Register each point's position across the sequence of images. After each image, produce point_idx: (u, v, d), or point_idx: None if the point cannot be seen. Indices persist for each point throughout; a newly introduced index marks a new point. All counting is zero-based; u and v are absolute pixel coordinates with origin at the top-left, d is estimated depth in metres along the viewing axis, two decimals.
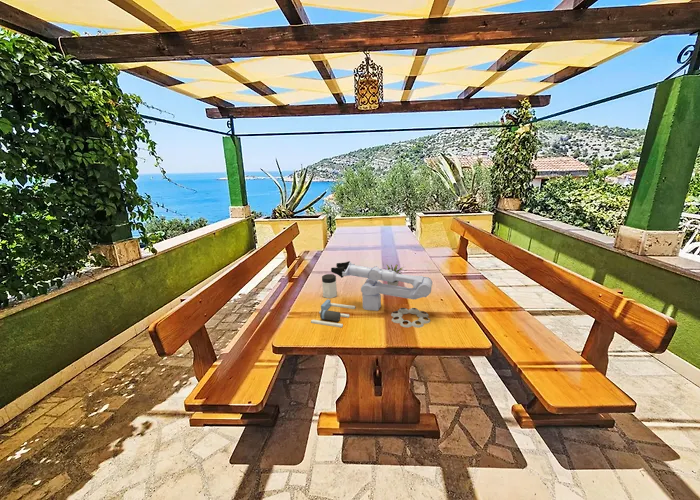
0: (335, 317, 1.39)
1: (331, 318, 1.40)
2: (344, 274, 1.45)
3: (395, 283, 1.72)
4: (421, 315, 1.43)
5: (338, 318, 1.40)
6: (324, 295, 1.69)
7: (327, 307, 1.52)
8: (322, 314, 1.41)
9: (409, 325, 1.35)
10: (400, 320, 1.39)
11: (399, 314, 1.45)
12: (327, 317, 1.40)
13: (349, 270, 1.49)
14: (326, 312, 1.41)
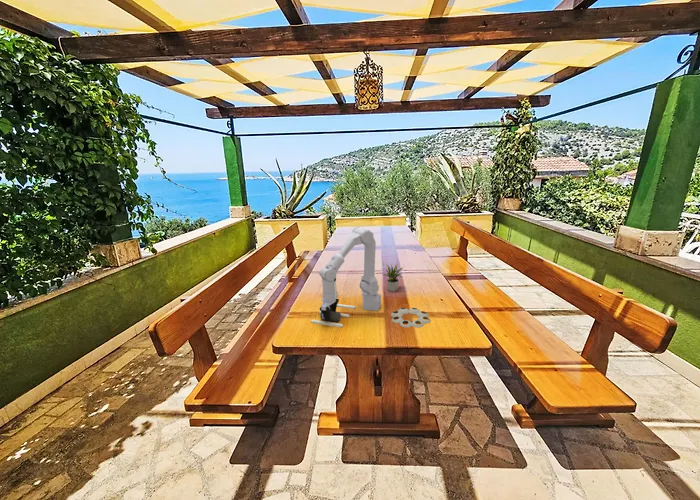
0: (335, 318, 1.39)
1: (331, 319, 1.40)
2: (323, 307, 1.33)
3: (395, 283, 1.72)
4: (421, 315, 1.43)
5: (338, 318, 1.40)
6: None
7: None
8: (322, 315, 1.41)
9: (409, 325, 1.35)
10: (400, 320, 1.39)
11: (399, 314, 1.45)
12: None
13: (325, 301, 1.37)
14: None
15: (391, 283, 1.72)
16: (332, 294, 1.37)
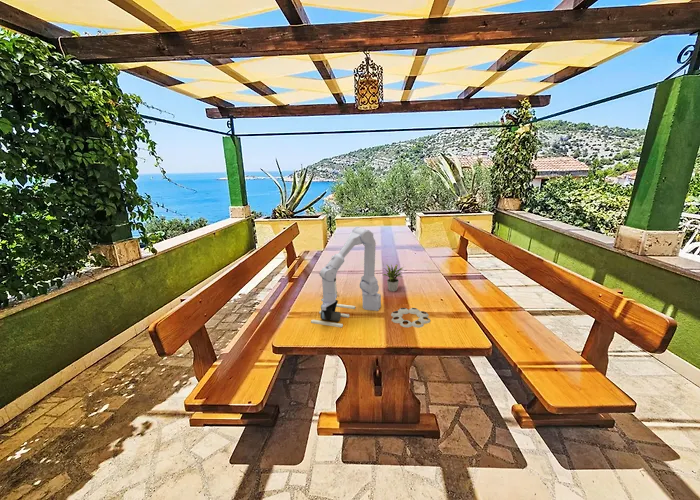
0: (335, 318, 1.39)
1: (331, 319, 1.40)
2: (323, 308, 1.33)
3: (395, 283, 1.72)
4: (421, 315, 1.43)
5: (338, 318, 1.40)
6: None
7: None
8: (322, 315, 1.41)
9: (409, 325, 1.35)
10: (400, 320, 1.39)
11: (399, 314, 1.45)
12: None
13: (325, 301, 1.37)
14: None
15: (391, 283, 1.72)
16: (332, 294, 1.37)
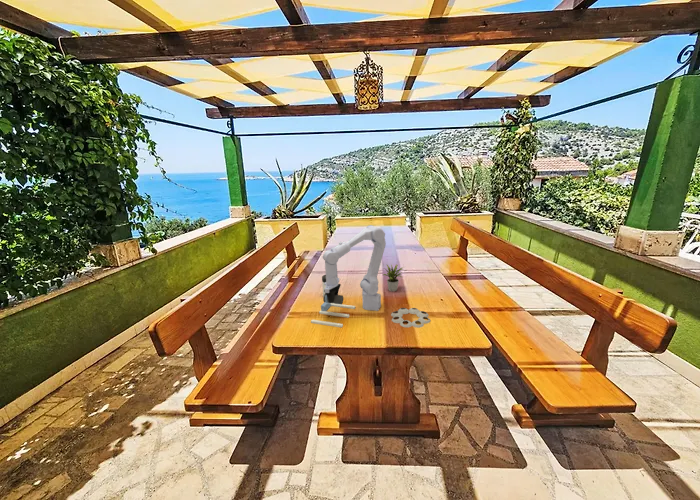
0: (338, 301, 1.41)
1: (334, 302, 1.42)
2: (326, 290, 1.35)
3: (395, 283, 1.72)
4: (421, 315, 1.43)
5: (341, 301, 1.42)
6: None
7: (327, 307, 1.52)
8: (325, 298, 1.43)
9: (409, 325, 1.35)
10: (400, 320, 1.39)
11: (399, 314, 1.45)
12: None
13: (328, 284, 1.39)
14: None
15: (391, 283, 1.72)
16: (335, 277, 1.39)
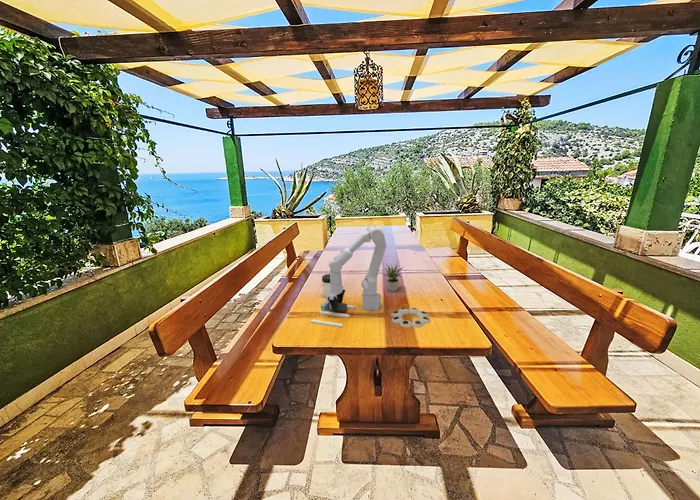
0: (342, 308, 1.47)
1: (338, 309, 1.48)
2: (331, 297, 1.42)
3: (395, 283, 1.72)
4: (421, 315, 1.43)
5: (345, 309, 1.49)
6: (324, 295, 1.69)
7: (327, 307, 1.52)
8: (330, 306, 1.49)
9: (409, 325, 1.35)
10: (400, 320, 1.39)
11: (399, 314, 1.45)
12: None
13: (333, 291, 1.46)
14: None
15: (391, 283, 1.72)
16: (339, 284, 1.45)
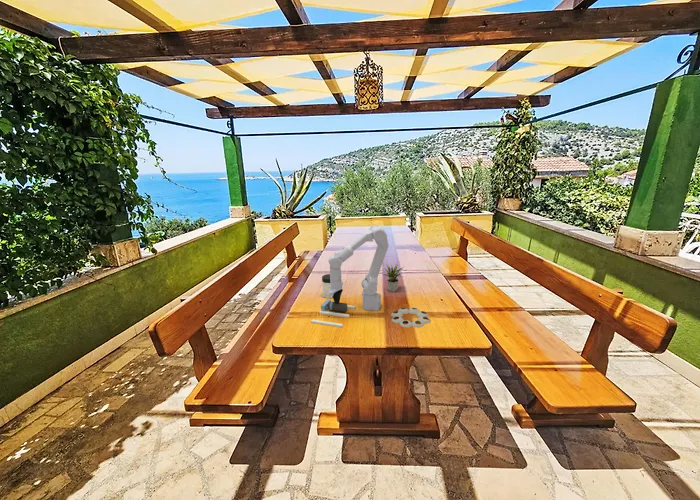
0: (342, 308, 1.48)
1: (338, 309, 1.48)
2: (330, 293, 1.41)
3: (395, 283, 1.72)
4: (421, 315, 1.43)
5: (345, 309, 1.49)
6: (324, 295, 1.69)
7: (327, 307, 1.52)
8: (330, 305, 1.50)
9: (409, 325, 1.35)
10: (400, 320, 1.39)
11: (399, 314, 1.45)
12: (335, 308, 1.49)
13: (332, 288, 1.45)
14: (334, 303, 1.50)
15: (391, 283, 1.72)
16: (339, 281, 1.44)
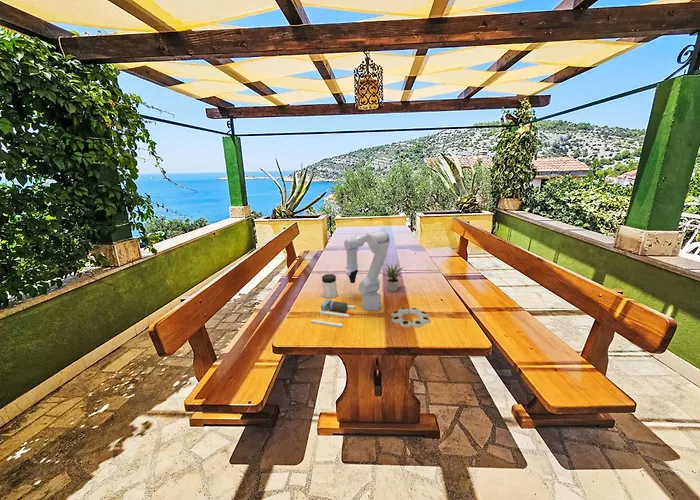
0: (343, 307, 1.48)
1: (339, 308, 1.49)
2: (348, 273, 1.56)
3: (395, 283, 1.72)
4: (421, 315, 1.43)
5: (345, 308, 1.49)
6: (324, 295, 1.69)
7: (327, 307, 1.52)
8: (330, 304, 1.50)
9: (409, 325, 1.35)
10: (400, 320, 1.39)
11: (399, 314, 1.45)
12: (335, 307, 1.49)
13: (349, 268, 1.59)
14: (334, 302, 1.50)
15: (391, 283, 1.72)
16: (355, 262, 1.59)
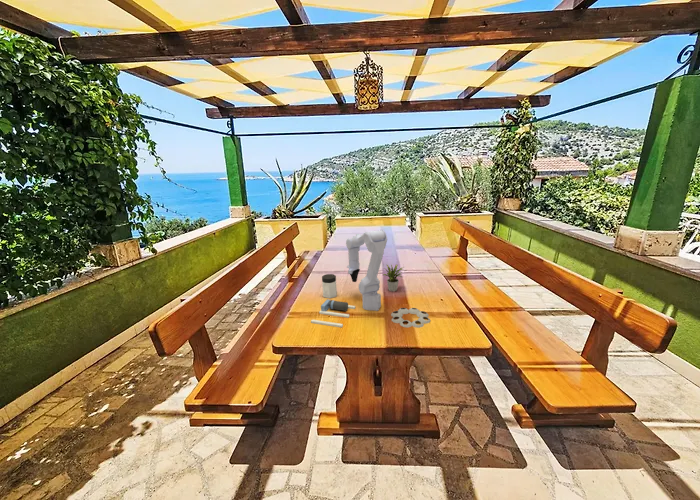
0: (343, 305, 1.49)
1: (339, 306, 1.49)
2: (350, 271, 1.57)
3: (395, 283, 1.72)
4: (421, 315, 1.43)
5: (346, 307, 1.50)
6: (324, 295, 1.69)
7: (327, 307, 1.52)
8: (331, 302, 1.51)
9: (409, 325, 1.35)
10: (400, 320, 1.39)
11: (399, 314, 1.45)
12: (336, 305, 1.50)
13: (351, 267, 1.61)
14: (335, 301, 1.52)
15: (391, 283, 1.72)
16: (357, 261, 1.61)
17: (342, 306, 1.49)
